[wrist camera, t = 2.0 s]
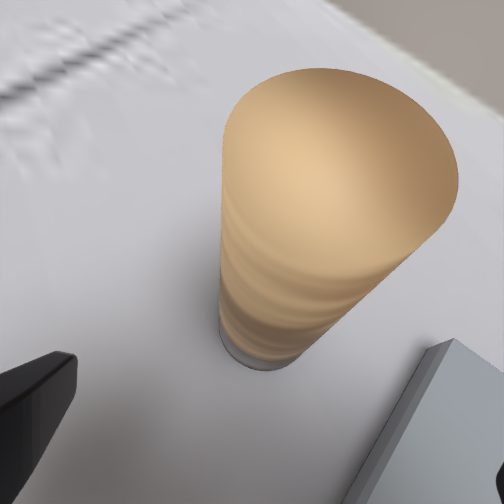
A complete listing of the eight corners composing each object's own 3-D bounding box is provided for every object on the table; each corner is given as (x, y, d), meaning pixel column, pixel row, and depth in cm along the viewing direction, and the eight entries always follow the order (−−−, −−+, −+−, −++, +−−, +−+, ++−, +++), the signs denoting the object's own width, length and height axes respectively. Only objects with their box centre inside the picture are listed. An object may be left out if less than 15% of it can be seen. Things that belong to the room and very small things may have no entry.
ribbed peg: (243, 388, 19) (297, 301, 6) (204, 302, 21) (185, 100, 8) (326, 345, 20) (507, 202, 8) (282, 268, 22) (370, 48, 9)
